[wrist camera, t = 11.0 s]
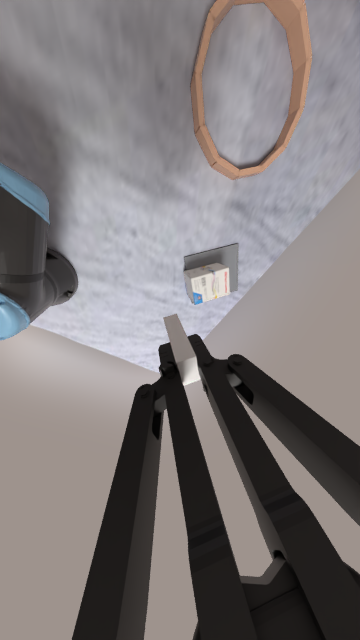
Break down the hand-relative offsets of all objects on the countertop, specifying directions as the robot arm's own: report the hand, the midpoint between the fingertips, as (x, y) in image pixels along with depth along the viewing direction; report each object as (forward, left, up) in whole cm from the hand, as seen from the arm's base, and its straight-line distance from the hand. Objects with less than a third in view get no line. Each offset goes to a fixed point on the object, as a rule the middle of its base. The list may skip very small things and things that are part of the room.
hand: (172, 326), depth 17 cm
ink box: (+9, -8, -30) cm, 32 cm away
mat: (+20, -8, -34) cm, 40 cm away
